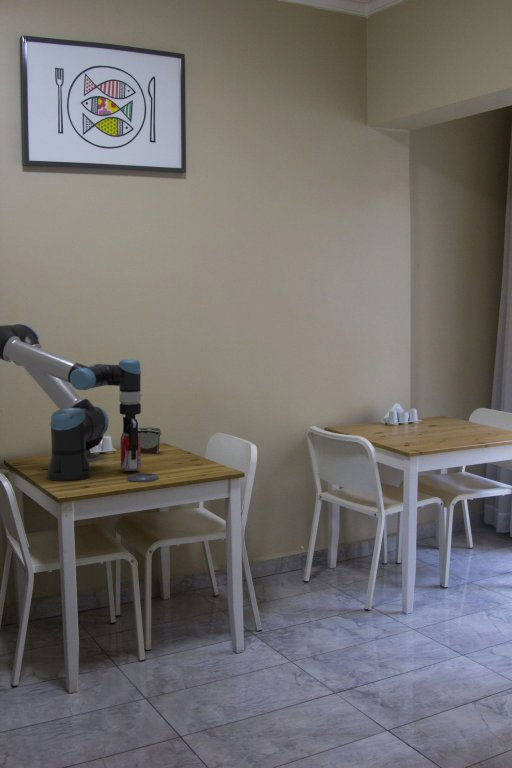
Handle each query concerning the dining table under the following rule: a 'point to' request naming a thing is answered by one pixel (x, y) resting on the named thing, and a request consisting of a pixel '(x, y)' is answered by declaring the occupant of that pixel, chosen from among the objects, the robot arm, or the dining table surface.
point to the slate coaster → (142, 477)
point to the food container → (149, 440)
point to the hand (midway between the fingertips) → (130, 466)
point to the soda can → (125, 452)
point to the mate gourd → (90, 445)
